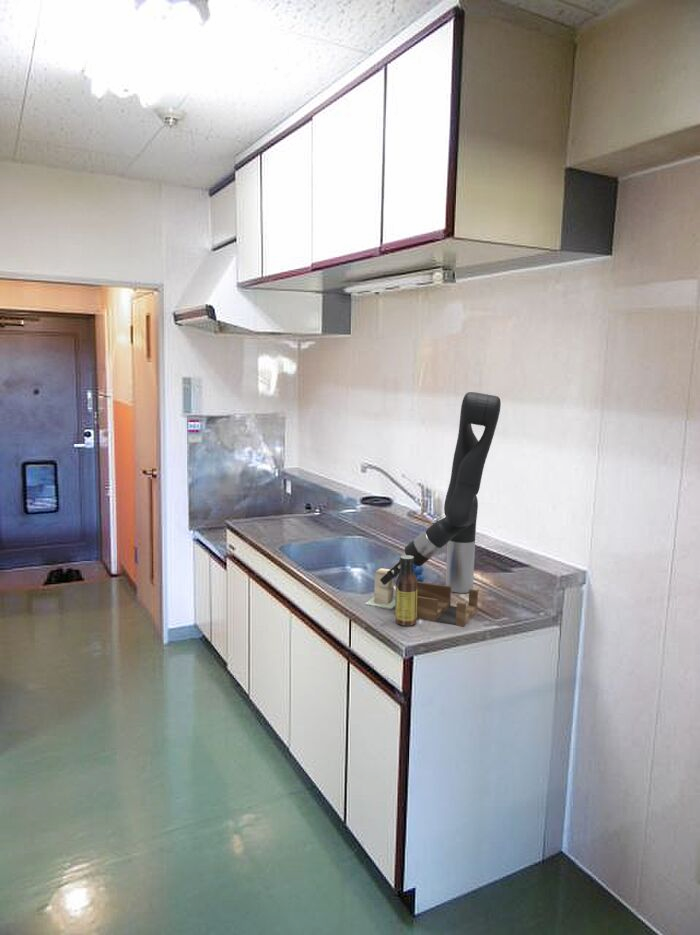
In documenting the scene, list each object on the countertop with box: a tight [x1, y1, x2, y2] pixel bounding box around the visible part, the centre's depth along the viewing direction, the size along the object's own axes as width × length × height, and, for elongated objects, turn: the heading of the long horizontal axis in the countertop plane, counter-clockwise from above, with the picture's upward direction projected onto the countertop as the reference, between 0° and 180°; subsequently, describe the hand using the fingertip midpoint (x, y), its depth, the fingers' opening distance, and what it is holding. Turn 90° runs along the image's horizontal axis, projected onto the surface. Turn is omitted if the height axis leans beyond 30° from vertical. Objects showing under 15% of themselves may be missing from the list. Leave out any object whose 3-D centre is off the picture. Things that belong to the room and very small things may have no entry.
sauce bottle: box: [394, 554, 417, 627], centre depth 192 cm, size 6×6×20 cm
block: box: [373, 567, 395, 605], centre depth 210 cm, size 5×4×10 cm
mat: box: [364, 596, 396, 610], centre depth 211 cm, size 9×9×1 cm
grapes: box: [413, 564, 425, 582], centre depth 221 cm, size 12×7×12 cm, turn 30°
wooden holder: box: [416, 581, 479, 627], centre depth 202 cm, size 15×21×6 cm
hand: (387, 578), depth 210 cm, fingers open, 8 cm apart
